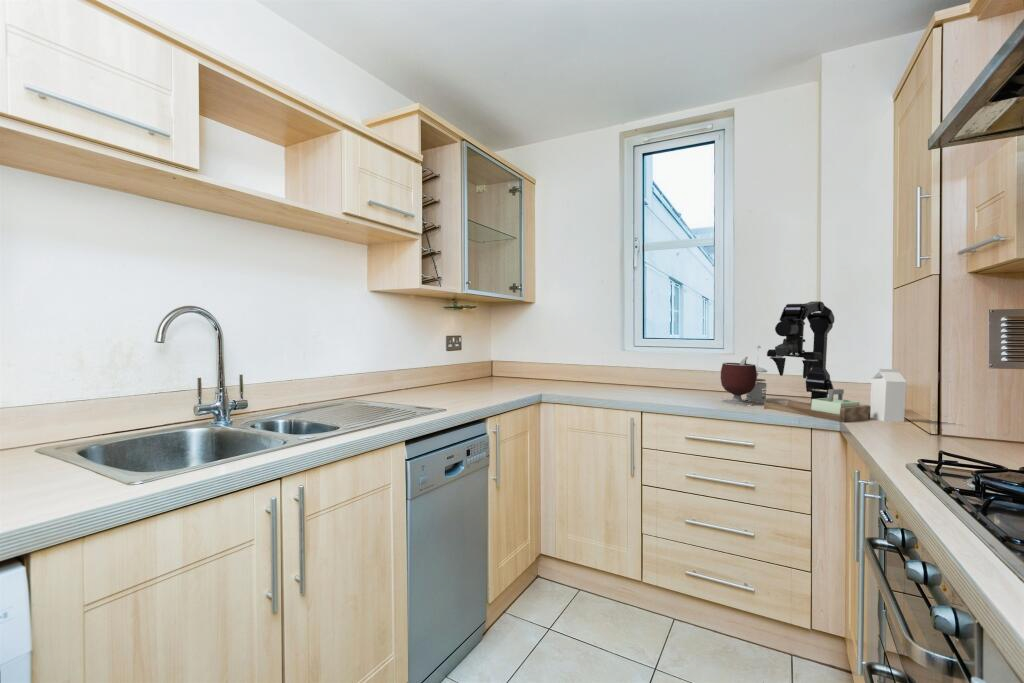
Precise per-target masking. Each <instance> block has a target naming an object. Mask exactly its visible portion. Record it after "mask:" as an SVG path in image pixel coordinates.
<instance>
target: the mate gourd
mask: <svg viewBox="0 0 1024 683" xmlns="http://www.w3.org/2000/svg"><path fill="white" fill-rule="evenodd" d="M747 360H748V356H745V357H744V358H743V359H742V360H741V361H740V362H722V365H721V368H720V383H721V387H722V388H723V389H724V391H726V392H728V393H730V394H732V395H733V398H732V399H722V400H721V403H722V404H724V403H726V404H725V405H728V404H732V405H731V406H736V405H752V406H754V402H750V401H745V400H743V398H742V396H744V395H746V393H749V392H751V391H752V390H753V389H754V387H755V384H756V378H758V376H757V373H758V372H756V367H757V365H756V364H754V363H747Z"/></svg>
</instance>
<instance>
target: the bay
mask: <svg viewBox="0 0 1024 683" xmlns="http://www.w3.org/2000/svg"><path fill="white" fill-rule="evenodd" d="M811 405H812V404H811V402H810V403H808V402H802V401H801V402H800V401H797V400H795V401H794V400H787V405H786V404H779V403H775V402H769V401H768V402H764V403H763V409H764V410H772V411H773V410H774V411H779V412H784V413H790V414H795V415H799V416H807V417H812V418H817V419H822V420H823V419H824V420H829V421H834V422H839V423H851V422H857V421H858V422H859V421H866V420H867V421H868V420H871V418H870V411H871V406H870V405H860V406H856V407H845V408H840V414H834V413H828V412H822V411H816V410H811Z"/></svg>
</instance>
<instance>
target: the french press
mask: <svg viewBox="0 0 1024 683" xmlns="http://www.w3.org/2000/svg"><path fill="white" fill-rule="evenodd" d="M755 348H756V349H757V351H759V349H761V345H759V344H758V345H756V346H755ZM756 359H757V360H756V361H757V362H756V364H757V365H756V372H757V377H756V384H755V387H754V389H753V390H752V391H751V392H749V393H746V394H745V395H746V398H744V399H743V401H745V400H748V401H747V402H750V401H755V402H754V403H760V402H767V401H768V400H767V383H766V379H764V378H758V376H759V373H767V372H768V370H767V369H765V368H763V367H760V366H759V357H757V358H756Z"/></svg>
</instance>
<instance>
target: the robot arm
mask: <svg viewBox="0 0 1024 683" xmlns="http://www.w3.org/2000/svg"><path fill="white" fill-rule="evenodd" d="M806 319H807V322H808V323H809V328H810V330H811V331H812V333H813V345H812V346H813V348H812V349H813V350H812V351H805V350H804V349H803V348H804V343H805V342H806V339H805V338H804V333H805V332H804V330H805V329H804V328H805V325H806V322H805V320H806ZM834 323H835V316H834V313H833V311H832V310H831V309H830V308H829V307H828V306H826V305H825V303H824V302H823V301H820V300H819V301H818V300H817V301H816V300H815V301H810V302H805V303H787V304H785V306H784V307H783V310H782V312H781V315H780V317H779V321H778V323H777V324H775V327H774V330H775V333H776V334H777V335H778V336H780V337H785V338H783V340H782V343H780V344H777V345H776V346H774V349H768V350H767V351H766V357H769V359H771V360H773V362H774V363H775V365H776V368H777V370H778V373H779V375H780V376H781V377H783V374H784V372H785V371H784V370H785V366H786V359H787V358H786V357H792V358H802V360H801V362H802V364H803V367H802V368H803V369H802V379H805V389H806V390H805V391H806V392H807V393H811V394H810V404H812V399H820V398H829V394H828V390H830V389H834V388H835V387H834V386H833V383H832V380H831V374H830V373H829V372H828V369H826V368H827V354H828V353H827V350H828V349H827V348H828V334H829V333H830V331H831V330H832V329H833V325H834Z"/></svg>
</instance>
